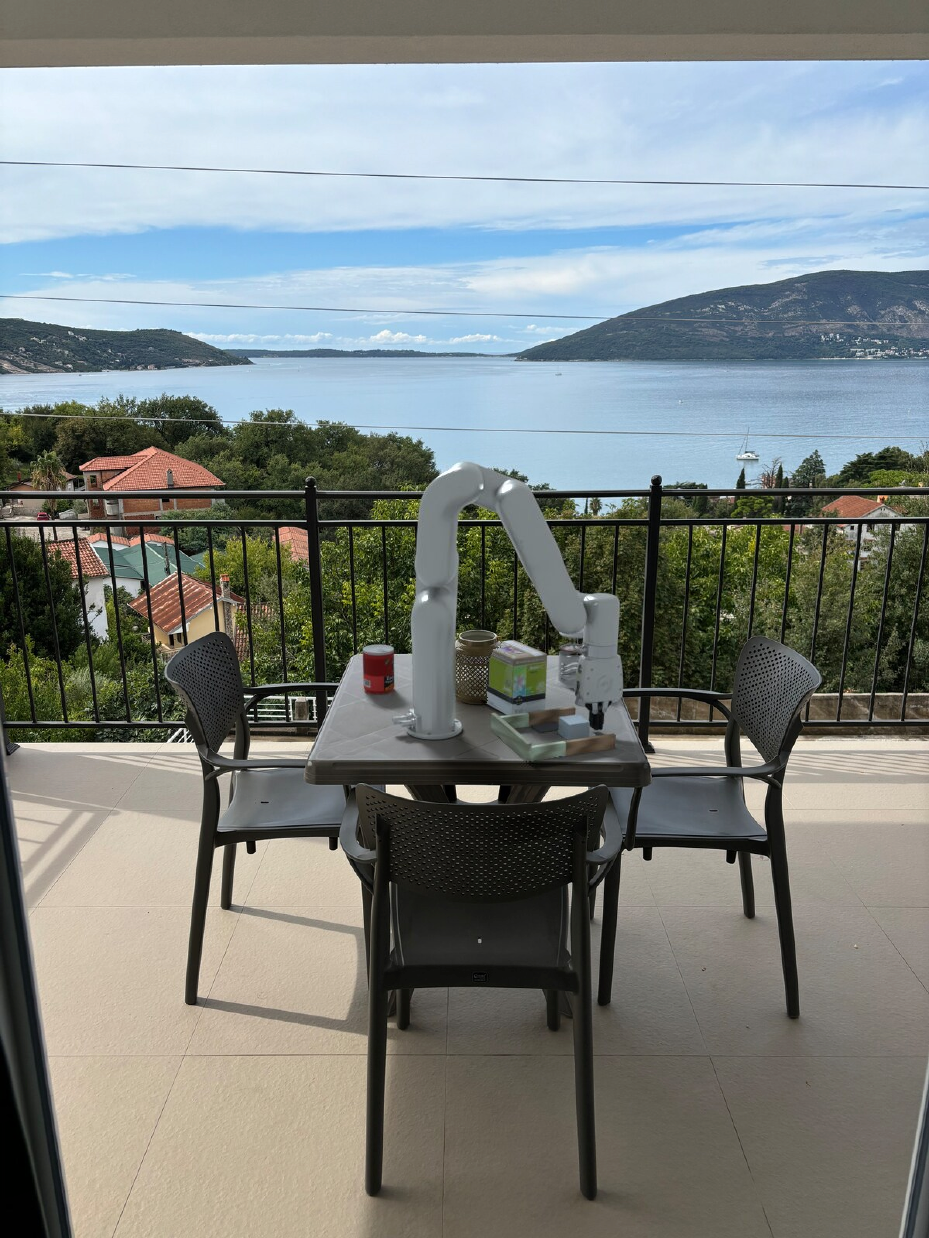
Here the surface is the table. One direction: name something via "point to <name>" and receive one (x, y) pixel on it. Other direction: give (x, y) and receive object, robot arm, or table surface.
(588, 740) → the trap lane
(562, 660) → the french press
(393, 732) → the table surface
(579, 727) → the block
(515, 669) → the tea box
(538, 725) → the plate
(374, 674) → the canned food
